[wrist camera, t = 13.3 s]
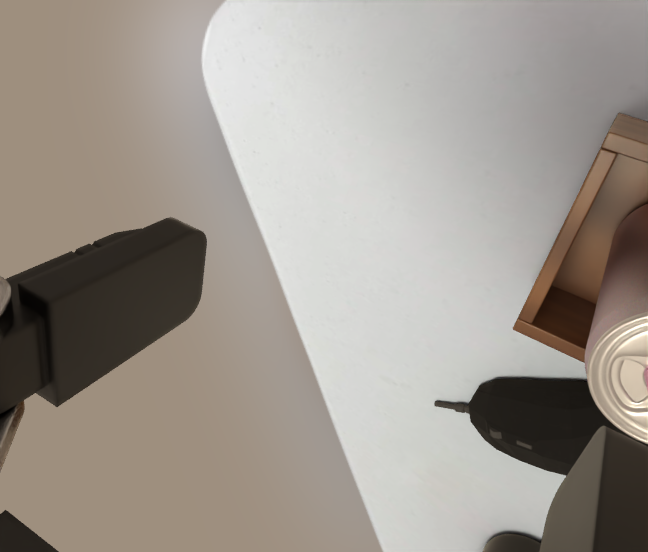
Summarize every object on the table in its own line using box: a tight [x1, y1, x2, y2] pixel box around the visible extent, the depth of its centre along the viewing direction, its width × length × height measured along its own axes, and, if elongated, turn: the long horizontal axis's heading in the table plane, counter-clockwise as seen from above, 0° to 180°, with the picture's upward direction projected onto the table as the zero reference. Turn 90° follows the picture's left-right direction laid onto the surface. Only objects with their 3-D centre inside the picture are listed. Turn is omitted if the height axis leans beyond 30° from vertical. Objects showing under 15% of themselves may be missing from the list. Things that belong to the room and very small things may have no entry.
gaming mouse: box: [435, 379, 648, 476], centre depth 38 cm, size 6×15×4 cm, turn 104°
